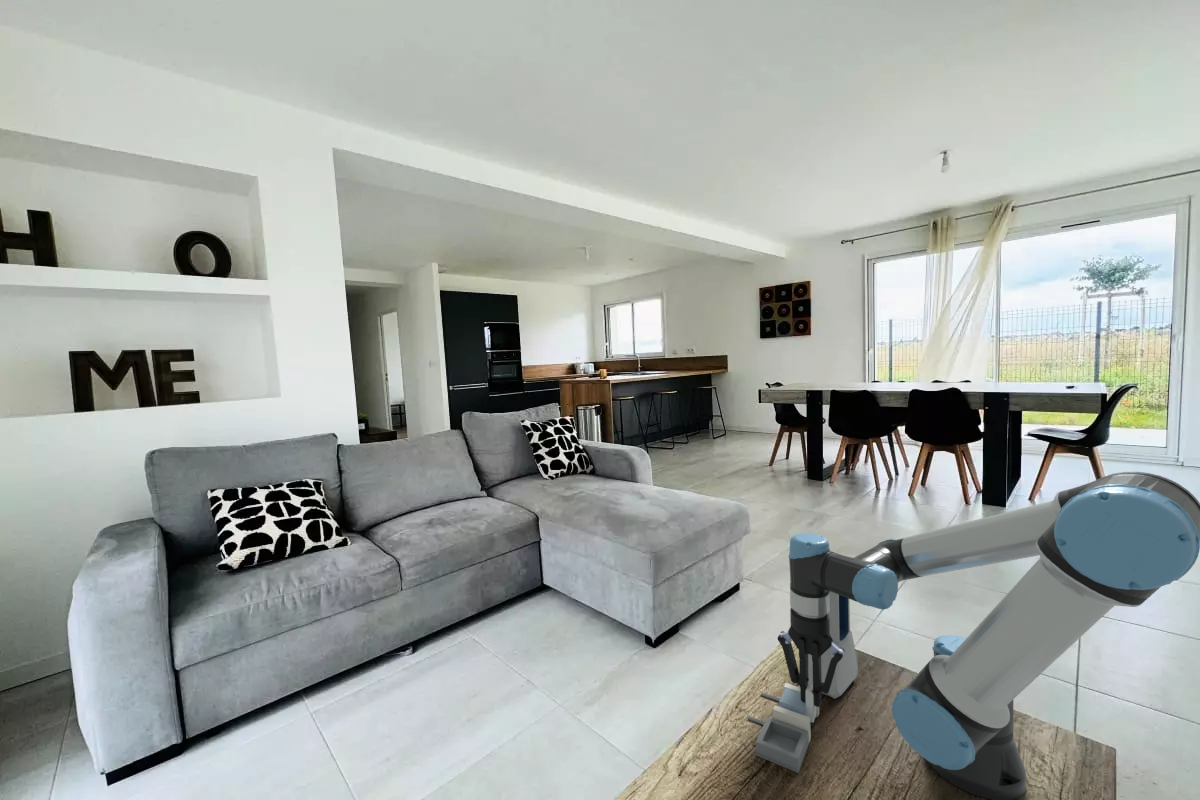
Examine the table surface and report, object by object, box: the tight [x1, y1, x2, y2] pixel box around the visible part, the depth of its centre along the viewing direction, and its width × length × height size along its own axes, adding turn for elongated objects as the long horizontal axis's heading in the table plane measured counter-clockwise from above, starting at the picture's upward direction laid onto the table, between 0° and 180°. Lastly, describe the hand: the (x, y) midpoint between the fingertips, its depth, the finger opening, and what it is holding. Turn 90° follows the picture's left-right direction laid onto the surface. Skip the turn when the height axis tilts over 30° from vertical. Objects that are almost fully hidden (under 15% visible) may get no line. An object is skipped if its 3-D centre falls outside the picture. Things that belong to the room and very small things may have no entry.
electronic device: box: [808, 591, 859, 699], centre depth 114 cm, size 12×8×30 cm, turn 133°
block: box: [778, 688, 806, 716], centre depth 104 cm, size 5×5×5 cm
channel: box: [772, 682, 820, 744], centre depth 104 cm, size 7×10×4 cm
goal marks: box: [747, 692, 781, 726], centre depth 108 cm, size 5×10×1 cm, turn 145°
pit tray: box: [755, 716, 810, 774], centre depth 96 cm, size 8×8×3 cm
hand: (811, 717), depth 102 cm, fingers closed
